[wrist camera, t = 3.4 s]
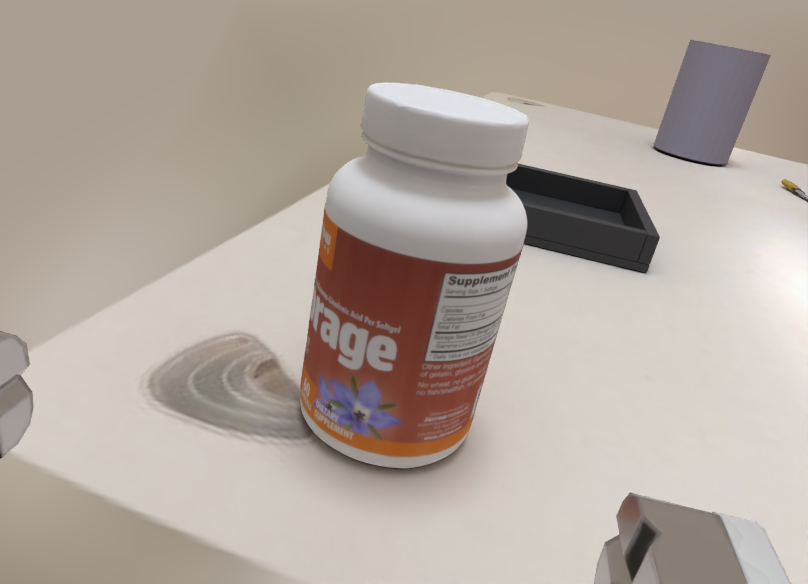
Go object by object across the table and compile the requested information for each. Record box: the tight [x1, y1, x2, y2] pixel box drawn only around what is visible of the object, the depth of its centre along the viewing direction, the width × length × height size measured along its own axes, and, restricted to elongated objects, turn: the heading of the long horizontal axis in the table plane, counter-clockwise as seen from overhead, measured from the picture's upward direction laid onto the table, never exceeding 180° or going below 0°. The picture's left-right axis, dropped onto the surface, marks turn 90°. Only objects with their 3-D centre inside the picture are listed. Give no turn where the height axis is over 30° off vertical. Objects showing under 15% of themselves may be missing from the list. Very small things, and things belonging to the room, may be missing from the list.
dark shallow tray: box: [506, 164, 660, 273], centre depth 47 cm, size 13×13×3 cm
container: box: [654, 40, 770, 166], centre depth 88 cm, size 10×10×15 cm
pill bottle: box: [300, 83, 529, 468], centre depth 20 cm, size 6×6×11 cm
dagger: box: [782, 179, 808, 200], centre depth 77 cm, size 11×1×2 cm
